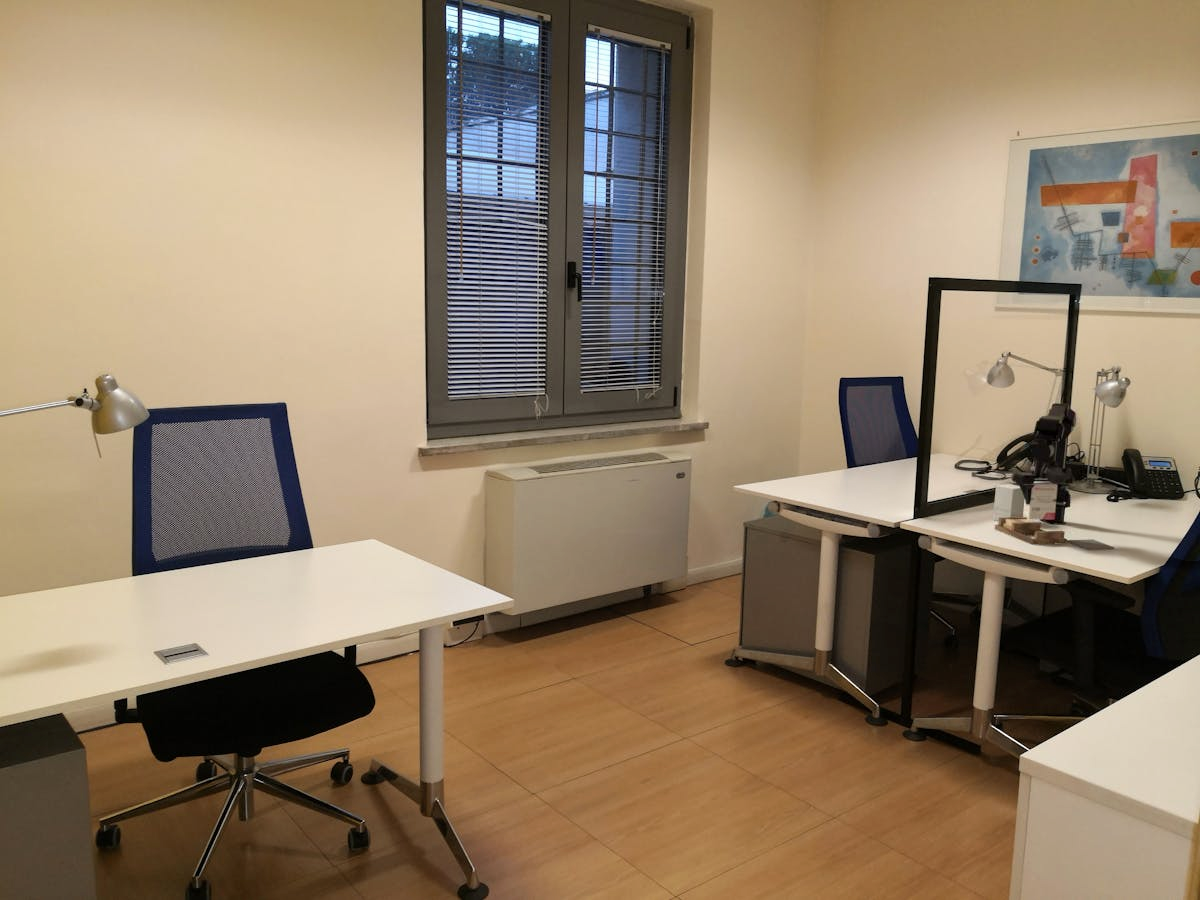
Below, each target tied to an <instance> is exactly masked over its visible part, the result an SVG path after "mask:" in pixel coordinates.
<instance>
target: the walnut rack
mask: <svg viewBox="0 0 1200 900" xmlns="http://www.w3.org/2000/svg"><path fill="white" fill-rule="evenodd" d="M997 522H998V523H997V524H994V530H995V531H999V532H1000V533H1003V532H1004V533H1003V534H1006V535H1007V536H1010V535H1011V537H1014V538H1015V539H1018V540H1020V541H1023V542H1026V543H1028V544H1030V545H1032V544H1039V545H1056V544H1055V543H1058V544H1057V545H1060V544H1059V543H1068V542H1067V540H1068V539H1067V538H1066V537H1065V531H1063V530H1049V531H1048V530H1044V529H1042V528H1041V527H1042V523H1041V521H1032V520H1031V519H1028V518H1026V517H1025V516H1023V517H1000V518H999V521H997ZM1030 536H1034V537H1030Z"/></svg>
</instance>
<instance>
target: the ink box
mask: <svg viewBox="0 0 1200 900" xmlns="http://www.w3.org/2000/svg"><path fill="white" fill-rule="evenodd" d="M1033 485H1035V486H1034V487H1033V488H1032V491H1031V500H1030V504H1026V501H1025V500H1024V511H1023V517H1026V518H1027V519H1028V520H1040V519H1048V520H1054V519H1055V508H1056V497H1057V486H1058V484H1053V483H1051V482H1047V481H1035V482H1034V483H1033Z"/></svg>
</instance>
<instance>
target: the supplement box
mask: <svg viewBox="0 0 1200 900" xmlns="http://www.w3.org/2000/svg"><path fill="white" fill-rule="evenodd" d="M1024 500H1025V498H1024V496H1023V493H1022V490H1021V488H1020V486H1019V485H1017V484H1011V483H1006V484H998V485H996V486H995V495H994V504H993V515H992V517H993V518H992V520H993V521H997V522H999V518H1000V517H1024V516H1023V511H1024Z"/></svg>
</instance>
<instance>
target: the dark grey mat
mask: <svg viewBox="0 0 1200 900" xmlns="http://www.w3.org/2000/svg"><path fill="white" fill-rule="evenodd" d="M1069 542H1070V543H1069ZM1067 543H1069V544H1071V543H1072V545H1074V544H1075V545H1074V546H1076V545H1077V546H1076V547H1079V548H1082V549H1084V548H1085V549H1084V550H1087V551H1091V550H1115V548H1116V547H1114V546H1112V545H1110V544H1106V543H1105V542H1104V543H1103V542H1101V541H1098V540H1096V539H1092V538H1091V539H1067Z"/></svg>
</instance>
